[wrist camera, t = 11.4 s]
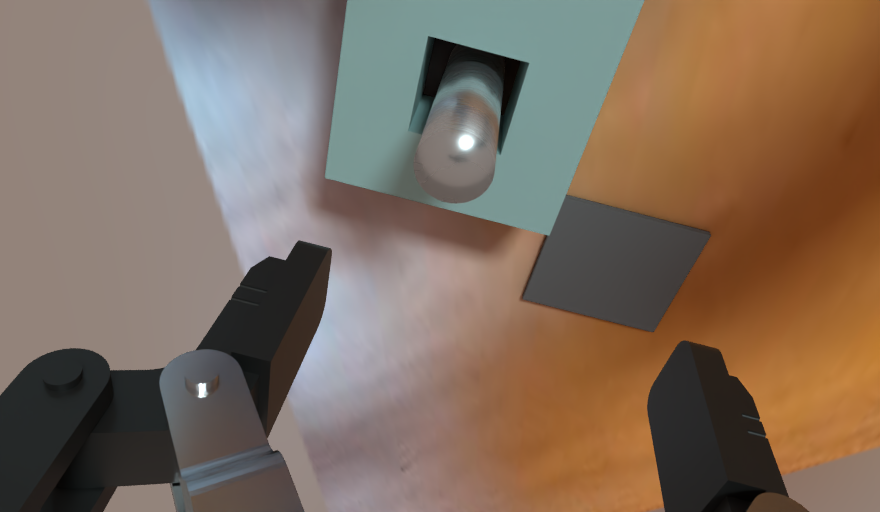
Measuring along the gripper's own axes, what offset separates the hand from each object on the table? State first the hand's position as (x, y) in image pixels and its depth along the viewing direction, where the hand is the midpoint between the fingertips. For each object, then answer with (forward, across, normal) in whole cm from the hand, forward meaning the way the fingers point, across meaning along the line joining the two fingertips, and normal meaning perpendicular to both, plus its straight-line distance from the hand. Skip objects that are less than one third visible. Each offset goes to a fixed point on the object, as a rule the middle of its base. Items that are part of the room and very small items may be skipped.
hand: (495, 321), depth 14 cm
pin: (+22, +2, +2) cm, 22 cm away
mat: (+22, -9, +12) cm, 26 cm away
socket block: (+22, +2, +2) cm, 22 cm away
